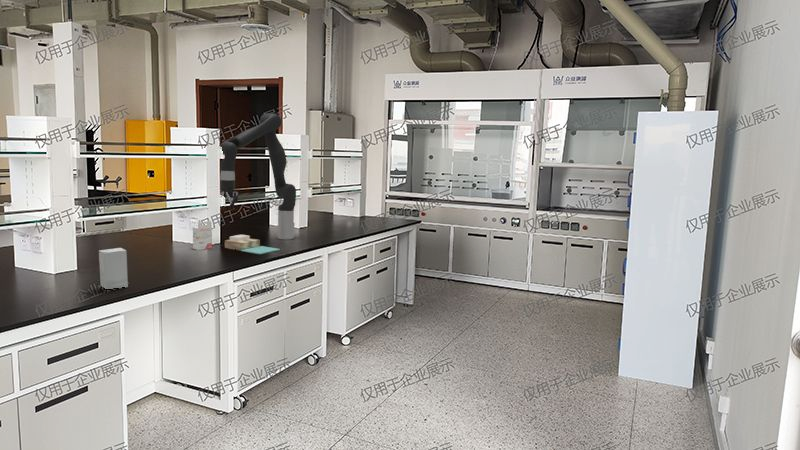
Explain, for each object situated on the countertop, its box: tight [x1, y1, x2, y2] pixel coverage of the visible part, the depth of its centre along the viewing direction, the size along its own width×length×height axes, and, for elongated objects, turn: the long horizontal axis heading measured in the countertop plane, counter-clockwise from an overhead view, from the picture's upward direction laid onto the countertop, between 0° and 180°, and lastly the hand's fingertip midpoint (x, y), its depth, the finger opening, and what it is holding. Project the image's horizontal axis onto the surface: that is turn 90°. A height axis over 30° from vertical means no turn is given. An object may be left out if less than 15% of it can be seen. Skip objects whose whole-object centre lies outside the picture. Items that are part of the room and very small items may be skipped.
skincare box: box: [98, 247, 129, 290], centre depth 211 cm, size 8×6×15 cm
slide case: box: [229, 234, 251, 241], centre depth 303 cm, size 9×6×2 cm, turn 153°
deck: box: [224, 237, 261, 251], centre depth 303 cm, size 14×12×4 cm
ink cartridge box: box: [192, 220, 213, 251], centre depth 294 cm, size 9×5×15 cm, turn 143°
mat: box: [240, 245, 281, 255], centre depth 297 cm, size 16×13×1 cm
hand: (227, 209), depth 305 cm, fingers open, 5 cm apart
